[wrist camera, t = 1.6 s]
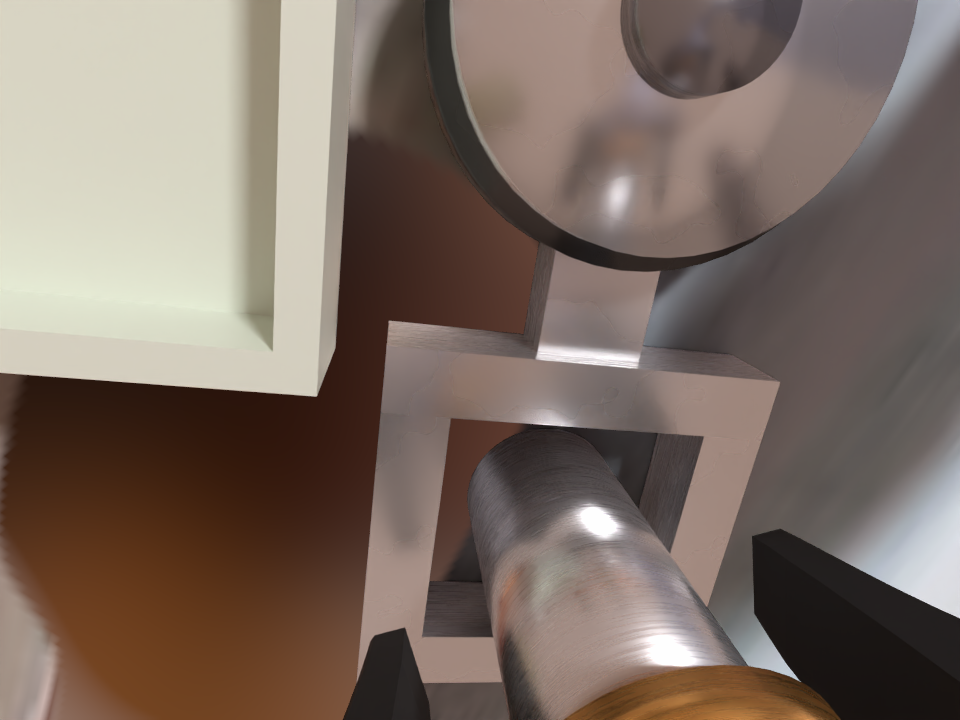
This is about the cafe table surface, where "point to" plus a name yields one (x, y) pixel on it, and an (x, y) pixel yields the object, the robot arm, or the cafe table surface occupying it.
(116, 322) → the parts tray
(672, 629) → the jar with gold lid
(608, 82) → the tensioner bracket
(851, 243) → the cafe table surface
